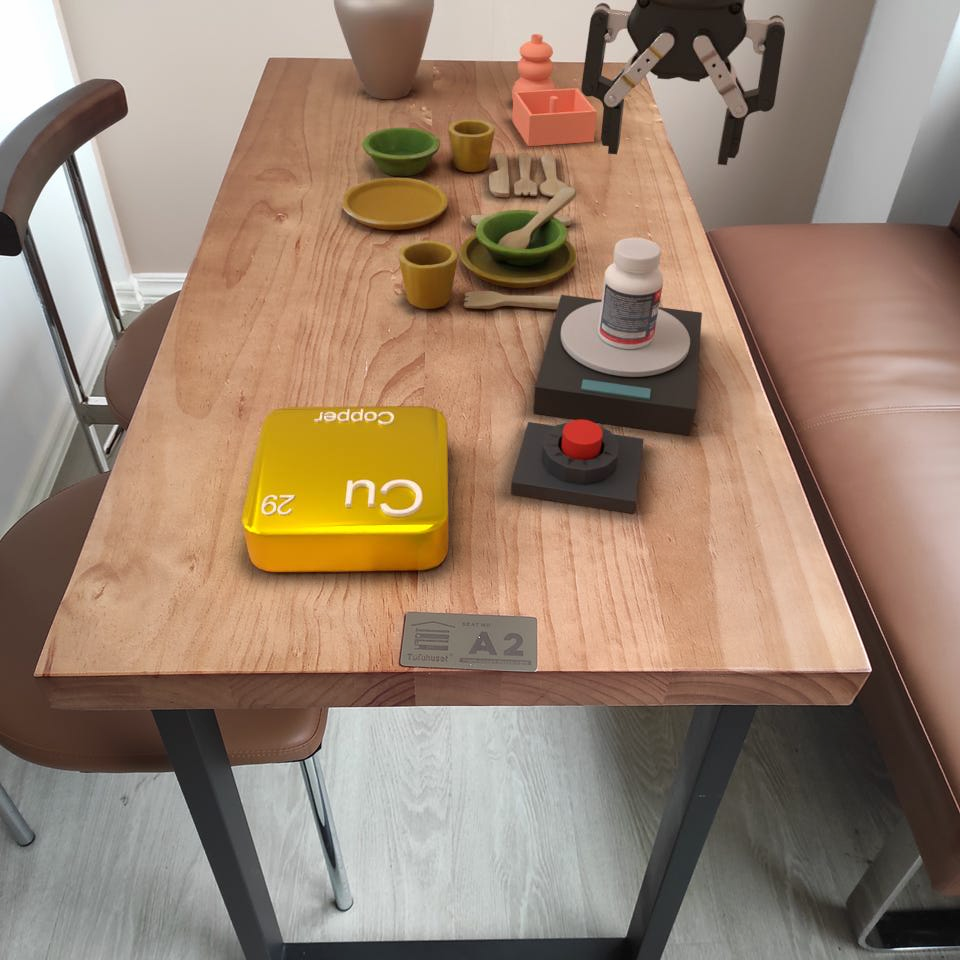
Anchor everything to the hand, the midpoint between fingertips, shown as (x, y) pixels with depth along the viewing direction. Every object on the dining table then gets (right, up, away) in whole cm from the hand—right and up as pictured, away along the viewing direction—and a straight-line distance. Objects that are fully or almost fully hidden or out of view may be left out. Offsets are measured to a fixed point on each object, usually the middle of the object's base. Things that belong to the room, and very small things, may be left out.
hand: (667, 156), depth 73 cm
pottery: (-5, +27, +62) cm, 68 cm away
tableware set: (-18, +5, +37) cm, 42 cm away
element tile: (-25, -28, +1) cm, 37 cm away
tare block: (-7, -25, +4) cm, 26 cm away
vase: (-29, +34, +69) cm, 82 cm away
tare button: (-7, -23, +3) cm, 24 cm away
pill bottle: (-1, -12, +13) cm, 18 cm away
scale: (-2, -15, +15) cm, 22 cm away
